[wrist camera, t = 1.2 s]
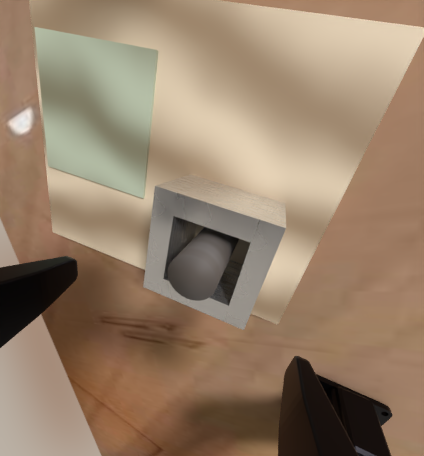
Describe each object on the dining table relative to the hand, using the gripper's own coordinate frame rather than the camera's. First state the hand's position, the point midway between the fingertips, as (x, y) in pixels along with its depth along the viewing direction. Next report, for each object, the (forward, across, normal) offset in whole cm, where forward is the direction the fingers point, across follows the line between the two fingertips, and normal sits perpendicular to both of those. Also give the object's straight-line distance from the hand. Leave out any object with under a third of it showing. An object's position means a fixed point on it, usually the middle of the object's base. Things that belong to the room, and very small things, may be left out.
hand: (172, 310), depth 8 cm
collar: (+8, 0, 0) cm, 8 cm away
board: (+9, +5, -3) cm, 11 cm away
